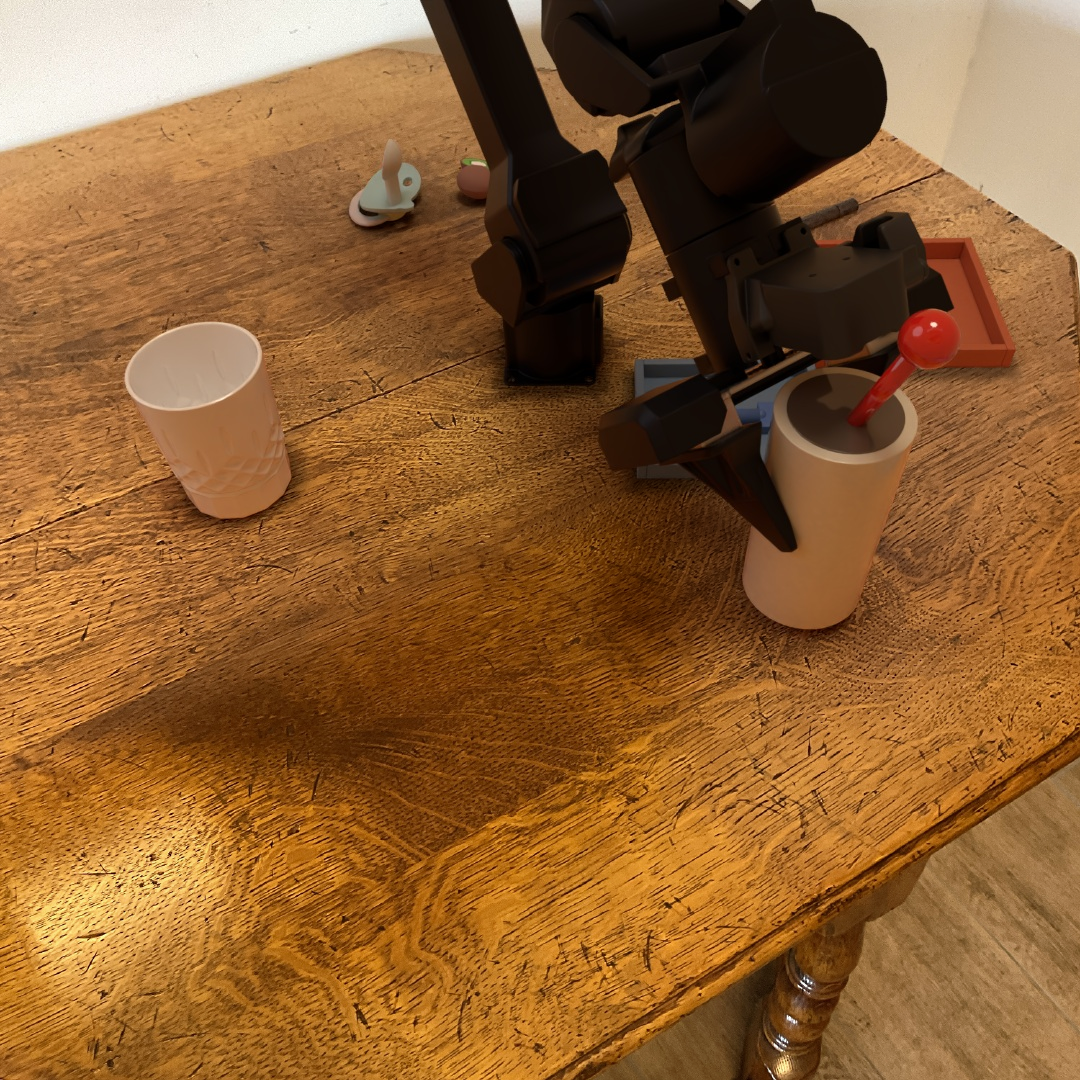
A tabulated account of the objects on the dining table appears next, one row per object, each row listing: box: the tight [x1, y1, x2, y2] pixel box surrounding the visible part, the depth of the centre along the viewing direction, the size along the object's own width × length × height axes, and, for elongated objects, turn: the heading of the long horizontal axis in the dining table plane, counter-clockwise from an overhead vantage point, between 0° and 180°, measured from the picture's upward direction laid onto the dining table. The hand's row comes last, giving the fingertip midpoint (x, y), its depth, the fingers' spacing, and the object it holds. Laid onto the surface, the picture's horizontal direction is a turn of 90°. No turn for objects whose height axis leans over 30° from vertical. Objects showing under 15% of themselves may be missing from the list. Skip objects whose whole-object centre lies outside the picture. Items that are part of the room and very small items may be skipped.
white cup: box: [124, 321, 292, 520], centre depth 62 cm, size 8×8×10 cm
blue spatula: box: [736, 402, 774, 434], centre depth 66 cm, size 10×2×1 cm, turn 87°
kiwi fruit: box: [456, 157, 490, 200], centre depth 86 cm, size 6×5×3 cm
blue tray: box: [633, 358, 817, 479], centre depth 66 cm, size 12×10×2 cm
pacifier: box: [348, 138, 422, 227], centre depth 83 cm, size 7×6×6 cm
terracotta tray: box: [814, 237, 1017, 369], centre depth 73 cm, size 13×13×2 cm
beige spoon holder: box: [741, 309, 961, 630], centre depth 48 cm, size 8×7×20 cm
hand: (840, 520), depth 51 cm, fingers closed on beige spoon holder, 6 cm apart
